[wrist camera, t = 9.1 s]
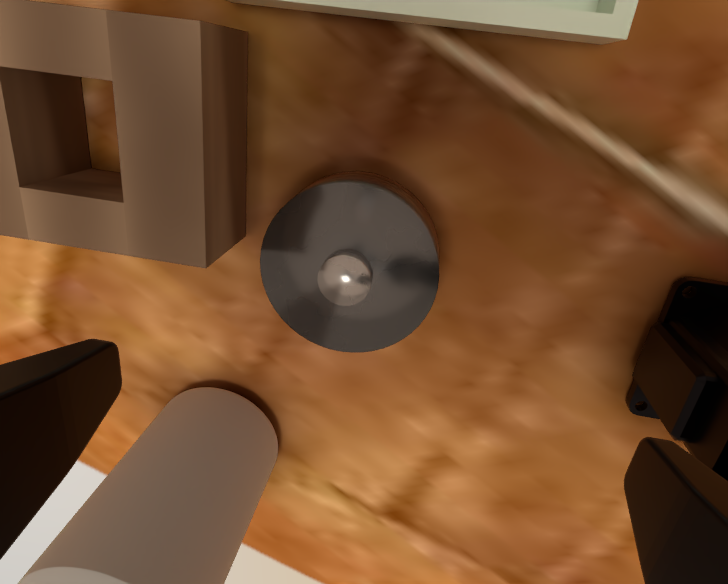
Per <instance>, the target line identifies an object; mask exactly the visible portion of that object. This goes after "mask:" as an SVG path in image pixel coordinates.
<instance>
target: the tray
mask: <svg viewBox="0 0 728 584" xmlns="http://www.w3.org/2000/svg"><path fill="white" fill-rule="evenodd" d="M226 1H229V2H232V3H240V4H249V5H258V6H266V7H275V8H284V9H293V10H301V11H310V12H319V13H328V14H337V15H345V16H354V17H363V18H372V19H381V20H389V21H398V22H407V23H416V24H425V25H433V26H442V27H451V28H460V29H469V30H477V31H486V32H495V33H504V34H513V35H521V36H530V37H539V38H548V39H557V40H565V41H574V42H583V43H592V44H601V45H602V44H607V43H612V42H617V41H622V40H627V37H628V34H629V30H630V27H631V24H632V20H633V17H634V14H635V10H636V7H637V4H638V0H226Z"/></svg>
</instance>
